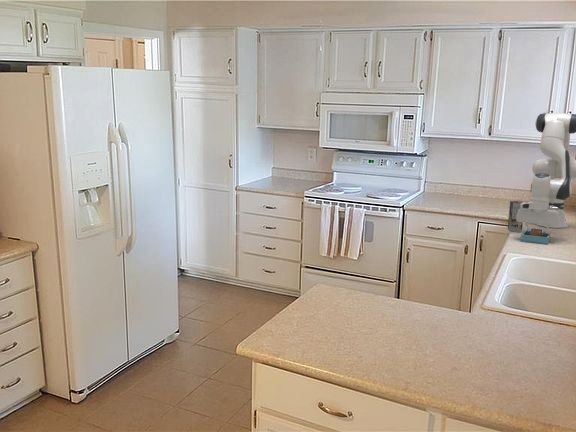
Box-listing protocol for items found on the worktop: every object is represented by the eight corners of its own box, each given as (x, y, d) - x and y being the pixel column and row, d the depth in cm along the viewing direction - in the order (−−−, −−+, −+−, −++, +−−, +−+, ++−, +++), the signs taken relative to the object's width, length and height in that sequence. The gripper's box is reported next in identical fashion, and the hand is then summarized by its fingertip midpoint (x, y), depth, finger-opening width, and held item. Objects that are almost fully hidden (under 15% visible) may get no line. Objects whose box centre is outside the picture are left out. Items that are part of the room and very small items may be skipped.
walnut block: (530, 237, 295) (531, 228, 294) (541, 238, 292) (542, 229, 292) (529, 239, 291) (530, 229, 290) (540, 240, 288) (541, 231, 287)
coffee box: (522, 232, 312) (525, 203, 309) (509, 231, 313) (512, 202, 310) (519, 229, 321) (521, 201, 318) (507, 228, 322) (509, 200, 319)
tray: (523, 237, 300) (524, 230, 299) (549, 240, 294) (550, 233, 293) (520, 241, 289) (521, 234, 289) (547, 244, 283) (548, 237, 283)
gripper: (562, 206, 286) (559, 233, 289) (518, 202, 296) (516, 228, 298) (561, 208, 281) (558, 235, 283) (517, 204, 290) (514, 230, 293)
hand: (536, 232), depth 291 cm, fingers open, 6 cm apart
